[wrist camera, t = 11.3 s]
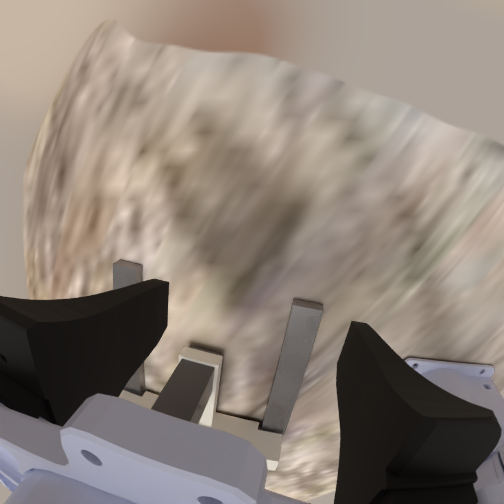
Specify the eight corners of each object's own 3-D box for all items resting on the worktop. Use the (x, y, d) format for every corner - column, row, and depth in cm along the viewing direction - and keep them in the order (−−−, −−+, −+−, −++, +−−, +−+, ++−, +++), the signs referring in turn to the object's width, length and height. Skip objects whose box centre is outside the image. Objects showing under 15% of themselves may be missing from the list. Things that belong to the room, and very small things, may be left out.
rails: (322, 304, 21) (323, 310, 20) (275, 452, 27) (273, 460, 26) (119, 259, 23) (113, 263, 22) (130, 412, 29) (126, 418, 28)
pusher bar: (303, 368, 23) (296, 445, 16) (280, 437, 25) (268, 505, 18) (119, 321, 24) (66, 373, 17) (126, 394, 27) (88, 446, 20)
